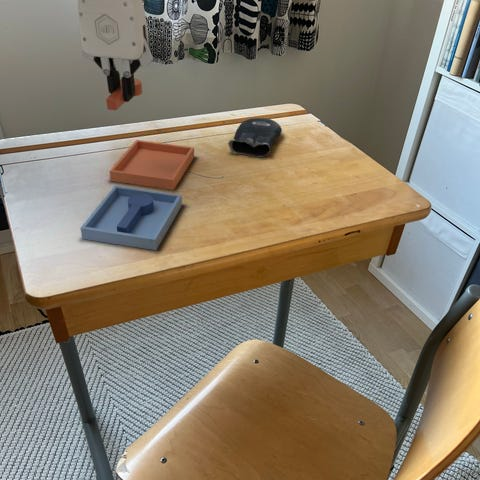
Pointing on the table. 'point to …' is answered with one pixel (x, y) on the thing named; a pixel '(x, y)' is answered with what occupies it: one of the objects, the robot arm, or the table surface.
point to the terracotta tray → (152, 164)
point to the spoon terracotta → (121, 96)
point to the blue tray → (146, 229)
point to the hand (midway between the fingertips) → (122, 97)
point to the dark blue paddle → (135, 212)
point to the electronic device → (255, 137)
